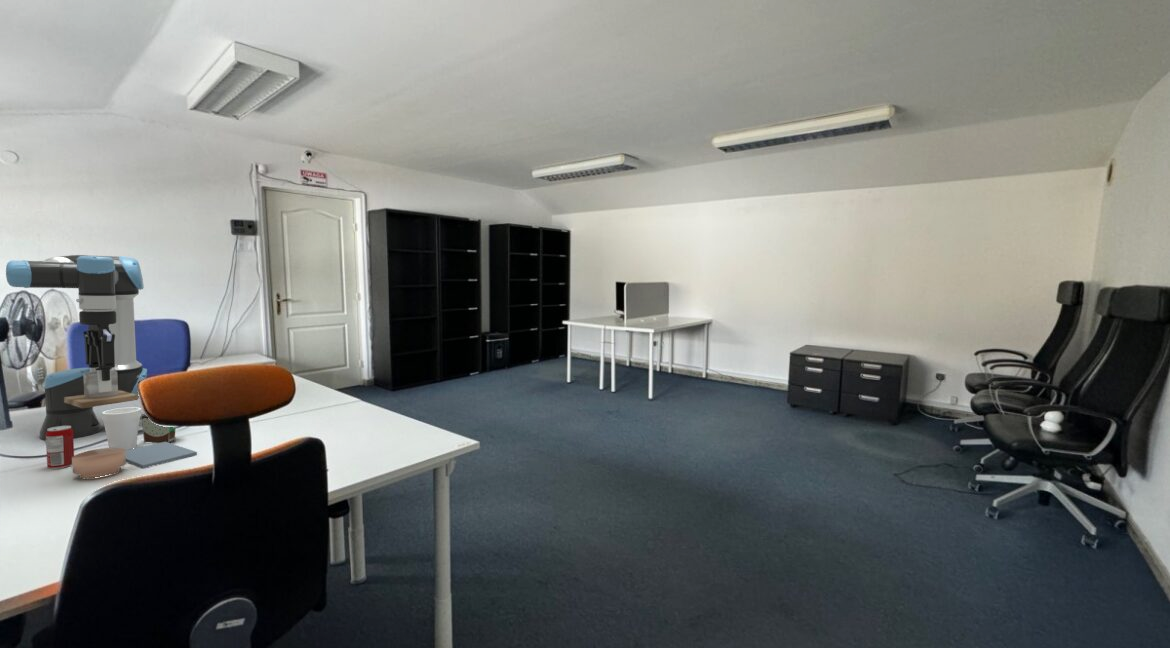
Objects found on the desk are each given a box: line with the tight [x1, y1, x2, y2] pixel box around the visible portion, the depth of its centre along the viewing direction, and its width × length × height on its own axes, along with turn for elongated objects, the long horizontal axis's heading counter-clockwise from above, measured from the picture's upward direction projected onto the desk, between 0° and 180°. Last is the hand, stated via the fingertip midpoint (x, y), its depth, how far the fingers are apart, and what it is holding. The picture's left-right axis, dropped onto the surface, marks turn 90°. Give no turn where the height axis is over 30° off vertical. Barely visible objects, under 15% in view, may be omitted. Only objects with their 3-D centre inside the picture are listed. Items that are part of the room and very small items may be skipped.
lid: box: [64, 370, 139, 408], centre depth 141 cm, size 12×12×8 cm
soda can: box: [45, 426, 75, 470], centre depth 146 cm, size 6×6×12 cm
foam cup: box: [101, 406, 142, 450], centre depth 162 cm, size 10×9×13 cm
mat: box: [125, 442, 198, 469], centre depth 157 cm, size 20×14×1 cm
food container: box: [140, 412, 177, 444], centre depth 172 cm, size 12×6×10 cm, turn 84°
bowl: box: [71, 447, 127, 480], centre depth 141 cm, size 11×11×6 cm
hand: (101, 390), depth 141 cm, fingers closed on lid, 4 cm apart
